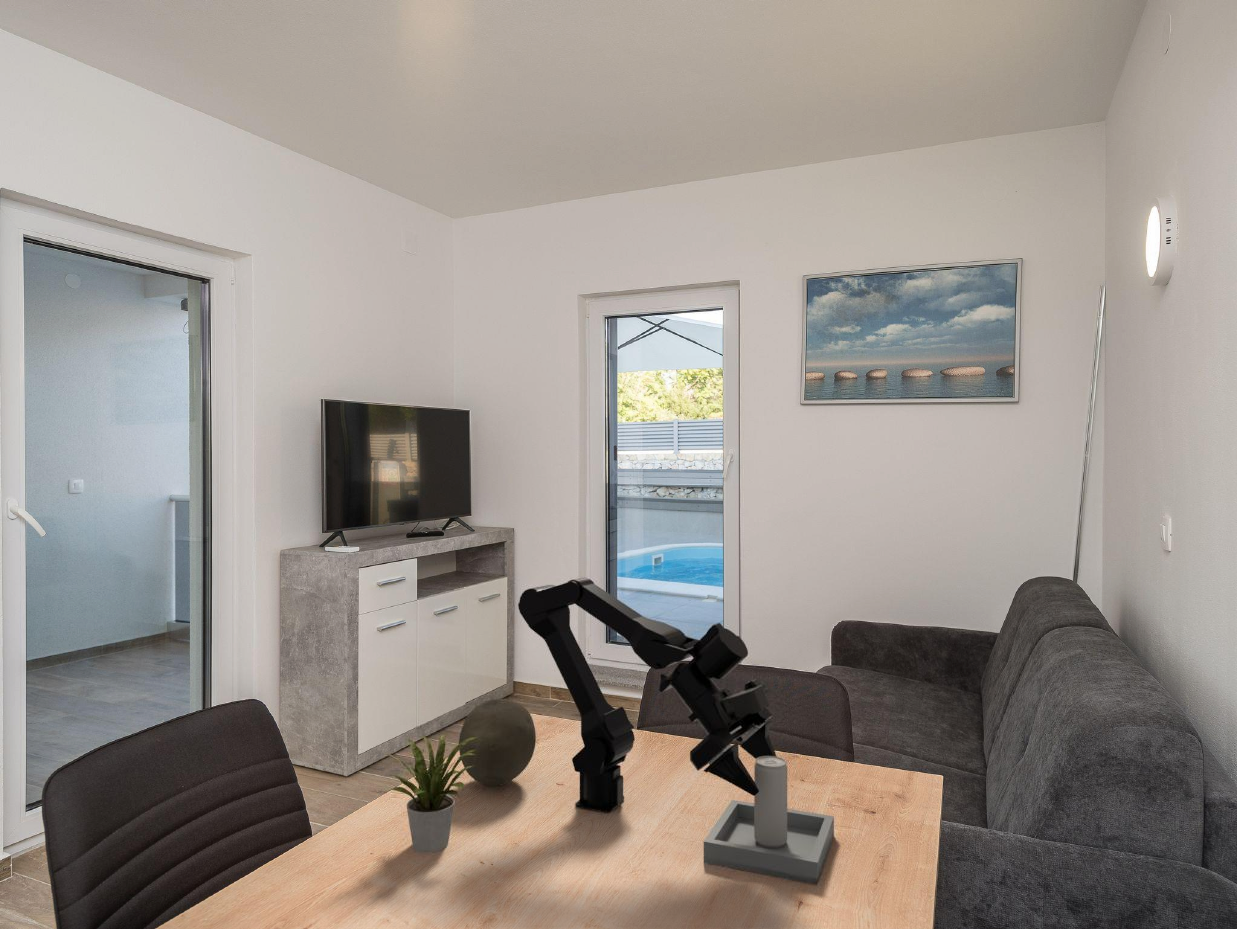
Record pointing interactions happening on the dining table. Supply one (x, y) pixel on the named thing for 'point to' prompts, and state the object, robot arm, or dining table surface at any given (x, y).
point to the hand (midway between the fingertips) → (768, 783)
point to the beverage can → (770, 801)
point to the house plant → (432, 796)
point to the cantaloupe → (497, 741)
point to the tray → (792, 861)
